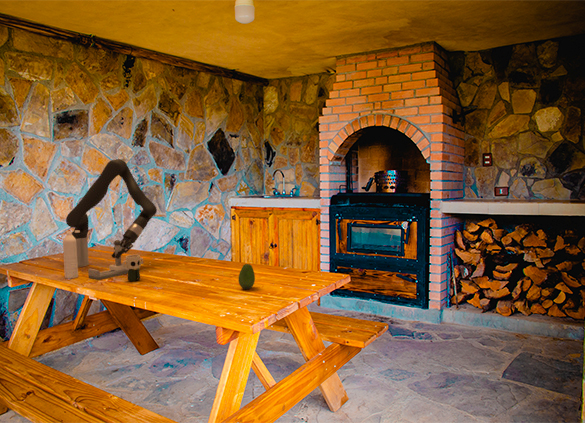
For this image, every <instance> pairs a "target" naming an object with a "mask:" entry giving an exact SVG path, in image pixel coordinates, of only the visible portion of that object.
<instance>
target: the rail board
mask: <svg viewBox="0 0 585 423" xmlns="http://www.w3.org/2000/svg"><path fill="white" fill-rule="evenodd" d="M138 269H139V270H140V267H139V268H138ZM128 270H129V269H123V270H118V271H114V270H110V269H109V270H104V271H100V269H99V270H98V269H93V268H88V269H87V271H88V279H91V280H94V281H100V280H106V279H110V278H115V277H119V276H122V275H123V274H124V275H128V274H127V273H128Z"/></svg>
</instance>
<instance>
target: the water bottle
mask: <svg viewBox="0 0 585 423" xmlns="http://www.w3.org/2000/svg"><path fill="white" fill-rule="evenodd" d="M79 232H80V231H75V233H79ZM76 247H77V246H76V239H75V238H74V236H73V235H72V231H66V235H65V236H64V237H63V240H62V248H63V250H62V251H63V265H64V266H63V269H64V278H65V279H69V280H70V279H76V278H78V277H79V272H78V271H79V269H78V268H79V267H78V263H77V248H76Z"/></svg>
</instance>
